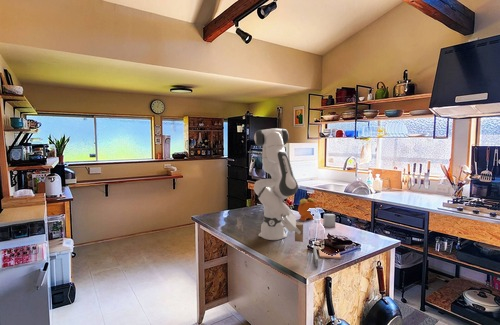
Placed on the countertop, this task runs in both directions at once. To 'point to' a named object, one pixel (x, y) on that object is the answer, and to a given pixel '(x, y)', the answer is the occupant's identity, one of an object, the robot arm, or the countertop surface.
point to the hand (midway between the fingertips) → (300, 231)
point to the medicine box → (329, 220)
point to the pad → (324, 255)
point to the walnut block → (300, 236)
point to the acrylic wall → (315, 256)
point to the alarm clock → (305, 208)
